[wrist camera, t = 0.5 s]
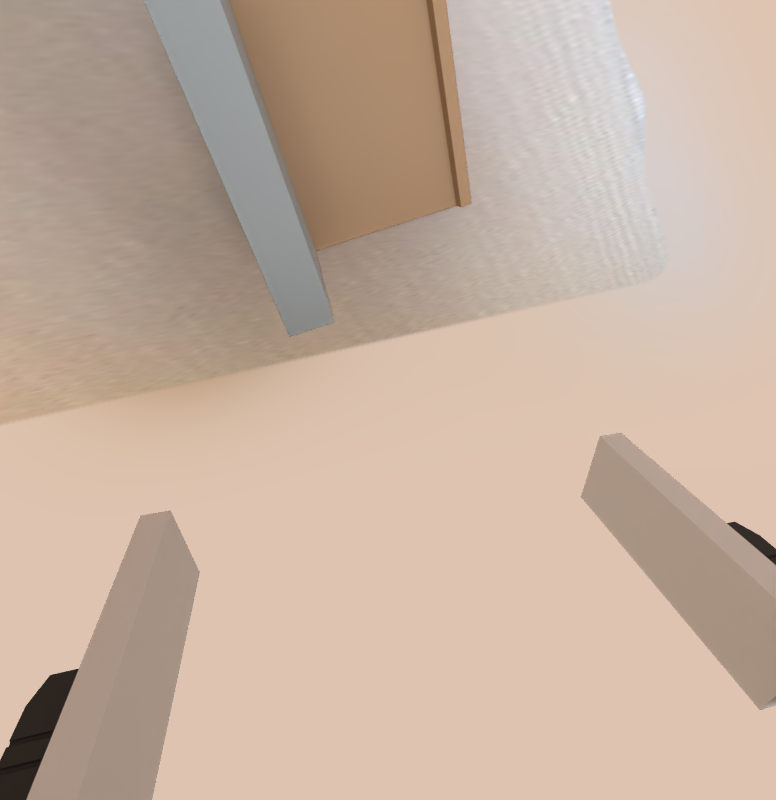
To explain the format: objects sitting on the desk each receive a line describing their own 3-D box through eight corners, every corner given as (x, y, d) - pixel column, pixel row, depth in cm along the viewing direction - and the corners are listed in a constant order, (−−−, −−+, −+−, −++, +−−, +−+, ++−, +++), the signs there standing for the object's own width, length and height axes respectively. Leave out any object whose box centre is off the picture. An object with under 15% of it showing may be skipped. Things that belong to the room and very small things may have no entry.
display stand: (201, 19, 24) (56, -201, 9) (416, -45, 25) (612, -353, 10) (290, 250, 32) (289, 336, 17) (452, 198, 32) (593, 237, 17)
